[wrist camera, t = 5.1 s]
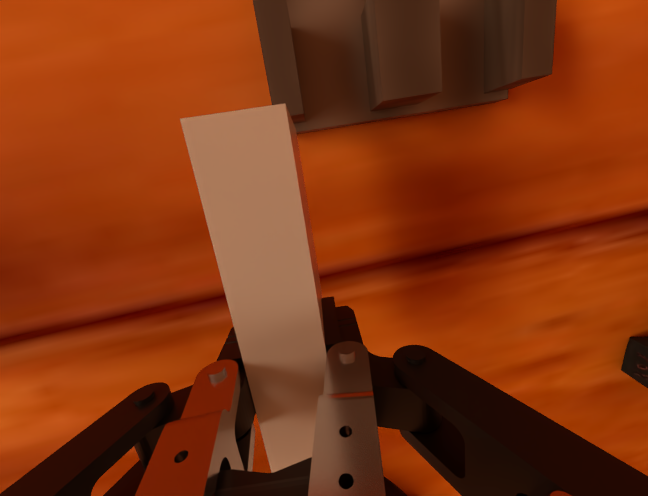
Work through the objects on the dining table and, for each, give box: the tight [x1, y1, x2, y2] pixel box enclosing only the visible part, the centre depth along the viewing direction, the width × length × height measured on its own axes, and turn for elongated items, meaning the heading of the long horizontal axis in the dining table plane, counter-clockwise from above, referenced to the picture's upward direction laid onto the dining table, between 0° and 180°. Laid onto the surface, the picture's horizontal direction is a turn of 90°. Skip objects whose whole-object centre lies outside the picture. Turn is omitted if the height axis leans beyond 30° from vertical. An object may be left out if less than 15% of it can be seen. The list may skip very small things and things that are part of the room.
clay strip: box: [180, 103, 327, 473], centre depth 12 cm, size 2×16×6 cm, turn 8°
